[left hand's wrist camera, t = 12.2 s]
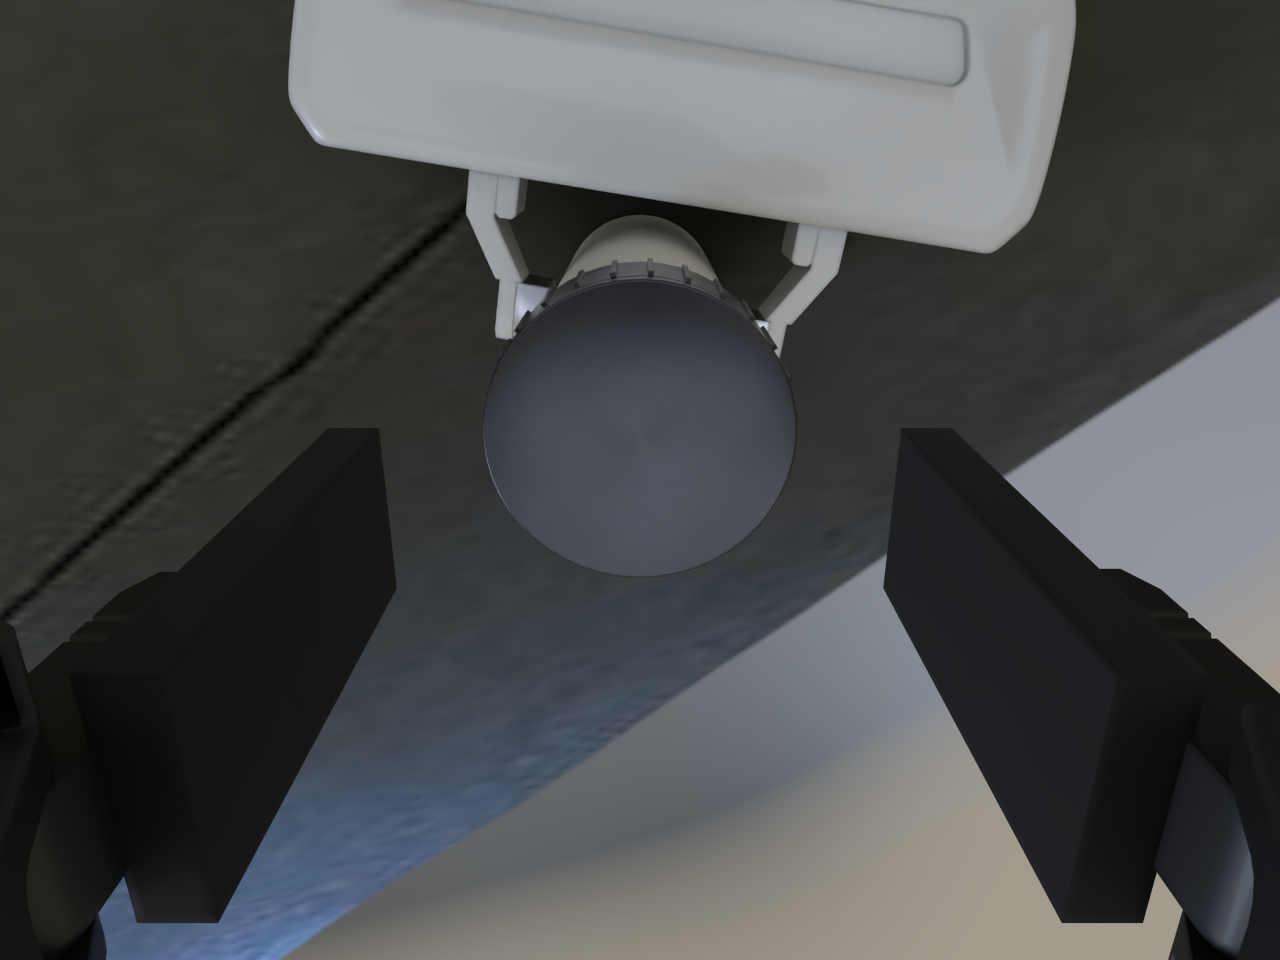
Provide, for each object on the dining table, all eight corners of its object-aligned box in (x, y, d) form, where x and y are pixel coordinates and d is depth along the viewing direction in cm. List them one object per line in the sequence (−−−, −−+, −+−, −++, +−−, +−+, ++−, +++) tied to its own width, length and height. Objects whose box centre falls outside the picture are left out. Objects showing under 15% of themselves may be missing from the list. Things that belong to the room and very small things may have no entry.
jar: (612, 185, 32) (587, 236, 16) (741, 264, 33) (832, 383, 17) (540, 316, 33) (455, 476, 18) (664, 388, 34) (685, 597, 19)
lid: (584, 198, 18) (577, 207, 16) (839, 352, 19) (866, 382, 17) (448, 449, 20) (424, 490, 17) (687, 576, 21) (693, 630, 19)
